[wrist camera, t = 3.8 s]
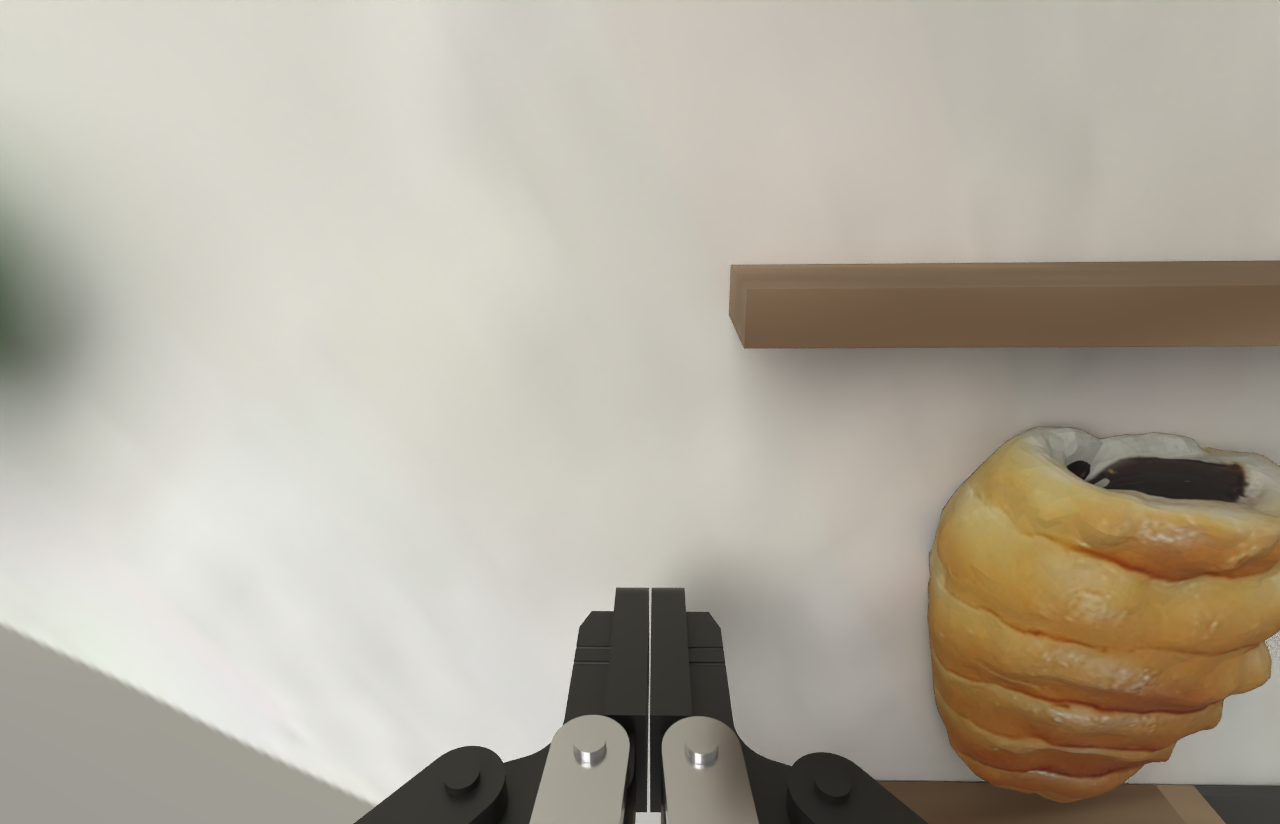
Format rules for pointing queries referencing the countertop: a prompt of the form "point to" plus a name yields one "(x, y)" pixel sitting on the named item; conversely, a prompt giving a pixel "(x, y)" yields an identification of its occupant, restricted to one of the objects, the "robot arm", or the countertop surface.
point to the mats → (1244, 803)
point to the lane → (1016, 317)
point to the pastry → (1099, 603)
